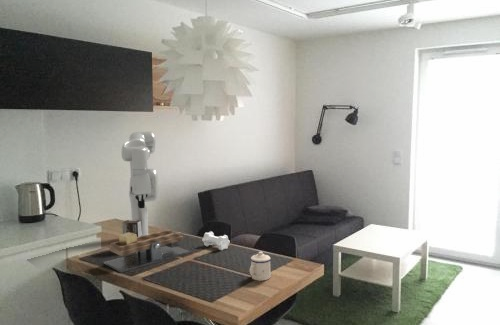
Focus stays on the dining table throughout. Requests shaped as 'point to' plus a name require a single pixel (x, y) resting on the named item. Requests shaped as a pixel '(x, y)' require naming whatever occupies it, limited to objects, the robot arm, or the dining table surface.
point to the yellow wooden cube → (127, 239)
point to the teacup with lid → (260, 267)
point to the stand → (146, 257)
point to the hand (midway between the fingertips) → (141, 207)
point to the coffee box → (132, 227)
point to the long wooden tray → (148, 242)
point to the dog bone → (216, 240)
